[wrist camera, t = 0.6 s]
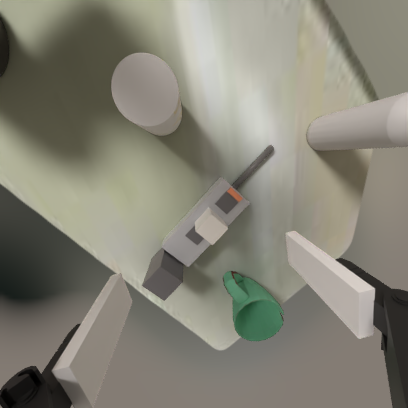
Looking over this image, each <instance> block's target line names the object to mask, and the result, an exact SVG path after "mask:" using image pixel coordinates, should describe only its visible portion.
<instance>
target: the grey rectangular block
mask: <svg viewBox="0 0 408 408" xmlns="http://www.w3.org/2000/svg"><path fill="white" fill-rule="evenodd" d="M182 282H183V263H182V262H180V261H179V260H178V259H176V258H175V257H174V256H172V255H171V254H170V253H168V252H167V251H166V250H164V249H163V248H161V249H160V250H159V251H158V252H157V254H156V255H155V256H154V257H153V258H152V259H151V262H150V265H149V268H148V271H147V273H146V276H145V279H144V282H143V285H142V286H143V287H145V288H146V289H148V290H149V291H151V292H152V293H154V294H155V295H157V296H158V297H160V298H161V299H163V300H164V301H165V300H166V299H167V298H168V297H169V295H170V294H171V293H172V292H173V291H174V290H175V289H176V288H177V287H178V286H179V285H180V284H181V283H182Z"/></svg>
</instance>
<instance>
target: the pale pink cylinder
mask: <svg viewBox="0 0 408 408" xmlns="http://www.w3.org/2000/svg"><path fill="white" fill-rule="evenodd" d="M111 90H112V96H113V99H114V102H115V104H116V106H117V108H118V109H119V111H120V112H121V113H122V114H123V116H125V117H126V118H127V119H128V120H130V121H131V122H133V123H135V124H136V125H138V126H140V127H141V128H143V129H145V130H146V131H148V132H150V133H152V134H154V135H158V136H165V135H168V134H171V133H172V132H174V131H175V130H176V129H177V128H178V126H179V125H180V122H181V119H182V107H181V100H180V94H179V87H178V82H177V79H176V77H175V74H174V73H173V71H172V69H171V68H170V67H169V65H168V64H167V63H166V62H165V61H163V60H162V59H161V58H159V57H157V56H155V55H153V54H150V53H143V52H140V53H134V54H131V55H129V56H127V57H125V58H124V59H123V60H121V61H120V63H119V64H118V65H117V67H116V68H115V70H114V73H113V76H112V81H111Z"/></svg>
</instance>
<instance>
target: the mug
mask: <svg viewBox="0 0 408 408" xmlns="http://www.w3.org/2000/svg"><path fill="white" fill-rule="evenodd" d="M223 281H224V286H225V288H226V290H227V291H228V293H229V294H230V295H231V296H232V297H233V322H234V327H235V330H236V332H237V333H238V335H239V336H241V337H242V338H244V339H246V340H249V341H261V340H266V339H268V338H270V337H272V336H273V335H275V334H276V333H277V332H278V331H279V329H280V328H281V326H282V325H283V317H282V315H281V313H282V314H283V315H284V312H283V310H282V308H281V306H280V305H279V303H278V302H277V301H276V300H275V299H274V298H273V297H272V296H271V295H270V294H269V293H268V292H267V291H266V290H265V289H264V288H263V287H261V286H260V285H259V284H258V283H256V282H255V281H253V280H252V279H250V278H243V277H241V276H240V275H239V274H238V273H237V272H233V271H229V272H227V273H225V275H224V276H223ZM280 312H281V313H280Z"/></svg>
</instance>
